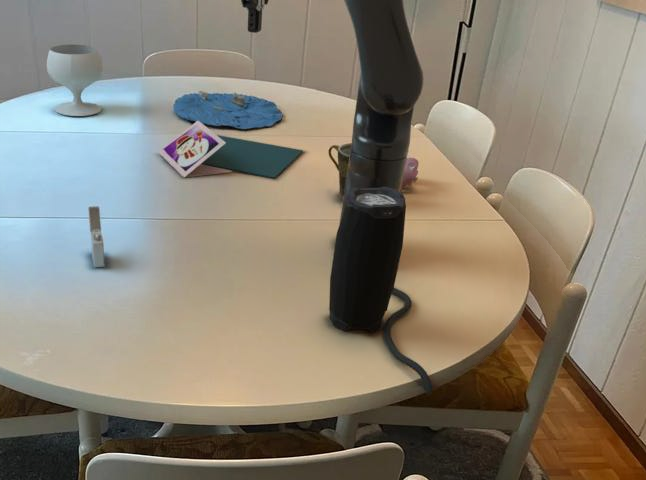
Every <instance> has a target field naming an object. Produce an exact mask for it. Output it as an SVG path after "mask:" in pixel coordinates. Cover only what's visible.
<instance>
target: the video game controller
mask: <svg viewBox="0 0 646 480" xmlns="http://www.w3.org/2000/svg"><path fill="white" fill-rule="evenodd" d="M418 168H419V160H418V159H416V158H414V157H411V156H410V155H409V156H407V160H406V165H405V170H404V174H403V180H402V185H401V190H405V188H406V187H407V186H410V185H411V184H412V183H416V182H417V181H418V175H419V170H418Z"/></svg>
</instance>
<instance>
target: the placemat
mask: <svg viewBox="0 0 646 480" xmlns="http://www.w3.org/2000/svg"><path fill="white" fill-rule="evenodd" d="M216 135H217V136H218V137H219V138H221V139H222V140H223V141H224V142H226V143H225V144H224V145H223V146H222V147H221V148H219V149H218V150H217V151H216V152H215V153H213V154H212V155H211V156H210V157H209V158H207V159H206V160H205V161H204V162H203V163H201V164H203V165H208V166H213V167H217V168H222V169H227V170H231V171H233V172H236V173H241V174H245V175H246V174H247V175H251V176H257V177H261V178H262V177H263V178H267V179H273V180H276V179H277V177H279V176H280V175H281V174H282V173H283V172H284V171H285V170H286V169H287V168H288V167H289V166H290V165H291V164H292V163H293V162H295V160H297V158H299V157H300V156H301V154H303V153H304V150H303V149H298V148H293V147H292V148H291V147H285V146H279V145H276V144H271V143H270V144H269V143H264V142H257V141H252V140H247V139H241V138H237V137H230V136H224V135H218V134H216Z"/></svg>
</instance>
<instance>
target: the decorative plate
mask: <svg viewBox="0 0 646 480" xmlns="http://www.w3.org/2000/svg"><path fill="white" fill-rule="evenodd" d="M173 111H174V113H175V114H176V115H177V116H179V117H180V118H182V119H185V120H186V121H191V122H194V123H195V122H197V121H200V122H201V123H202V124H203V125H205V124H207V125H208V126H215V127H221V126H230V127H232V128H235V129H241V130H250V129H252V128H253V129H255V128H259V129H260V128H266V127H271V126H273V125H275V123H277V122H278V121H280V120H282V119H283V113H282V111H281V110H278V106H277V104H276V102H274V101H271V100H267V99H265V98H260V97H257V96H254V95H247V94H242V93H241V94H239V93H237V92H236V91H234V92H233V93H226V92H225V93H219V92H213V93H208V92H207V91H206V92H205V91H203V90H198V93H194V92H193V93H188V94H186V93H185V94H183V95H181V97H178V98H176V100H174V103H173Z"/></svg>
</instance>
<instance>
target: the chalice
mask: <svg viewBox="0 0 646 480" xmlns="http://www.w3.org/2000/svg"><path fill="white" fill-rule="evenodd" d="M46 71H47V73H48V76H49V77H50V78H51V80H53V81H55V82H56V83H58V84H60V85H61V86H64V87H66V88H67V89H68V90H69V91H70V92H71V93H72V96H73V99H72V101H70V102H64V103H60V104H58V105H56V106H55V107H54V112H56V113H58V114H59V115H64V116H71V117H85V116H91V115H96V114H98V113H100V112H102V110H103V109H102V107H101V106H100V105H98V104H96V103H91V102H86V101H83V99H82V93H83V92H84V90H85V89H87V88H88V87H89V86H91V85H93V84H94V83H96V82H97V81H98V80H99V79H101V78H102V76H103V74H104V73H103V72H104V65H103V60H102V56H101V53H100V51H99V50H98V48H96V47H94V46H92V45H85V44H60V45H55V46H52V47H51V48H50V49H49V51H48V54H47V59H46Z"/></svg>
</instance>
